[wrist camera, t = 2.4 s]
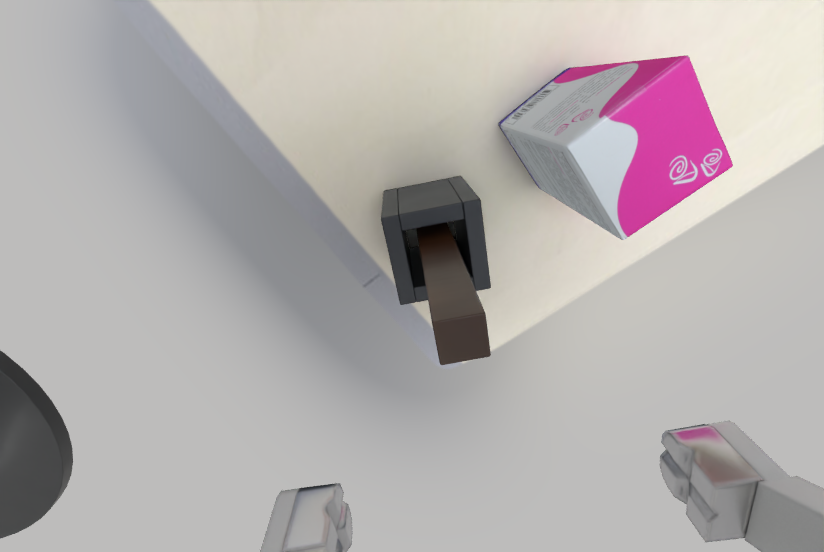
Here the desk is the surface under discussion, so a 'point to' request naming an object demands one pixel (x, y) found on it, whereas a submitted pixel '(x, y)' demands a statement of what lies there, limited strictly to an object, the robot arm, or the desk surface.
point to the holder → (428, 209)
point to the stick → (451, 298)
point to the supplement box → (619, 140)
